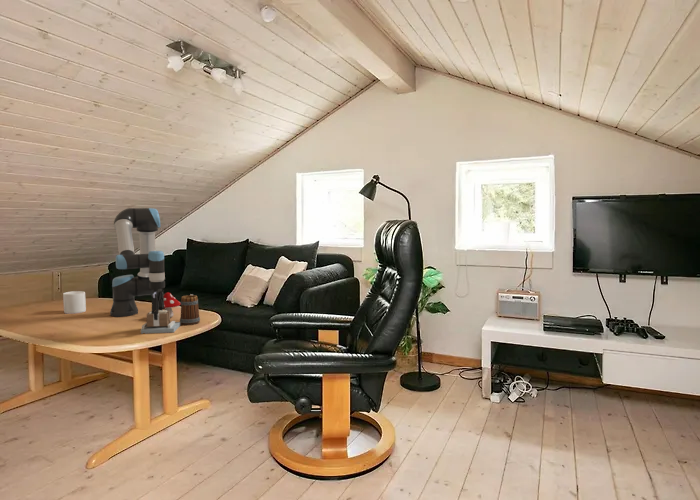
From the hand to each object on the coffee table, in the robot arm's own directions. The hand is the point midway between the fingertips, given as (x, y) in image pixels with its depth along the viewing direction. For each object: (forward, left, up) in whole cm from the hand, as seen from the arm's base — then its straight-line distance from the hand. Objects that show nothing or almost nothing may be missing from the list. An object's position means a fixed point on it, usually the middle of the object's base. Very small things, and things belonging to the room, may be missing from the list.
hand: (158, 324), depth 239 cm
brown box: (0, 0, 0) cm, 0 cm away
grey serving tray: (-1, +1, -3) cm, 3 cm away
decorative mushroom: (-29, -2, -3) cm, 29 cm away
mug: (-16, +13, -3) cm, 21 cm away
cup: (-54, -64, -3) cm, 84 cm away
